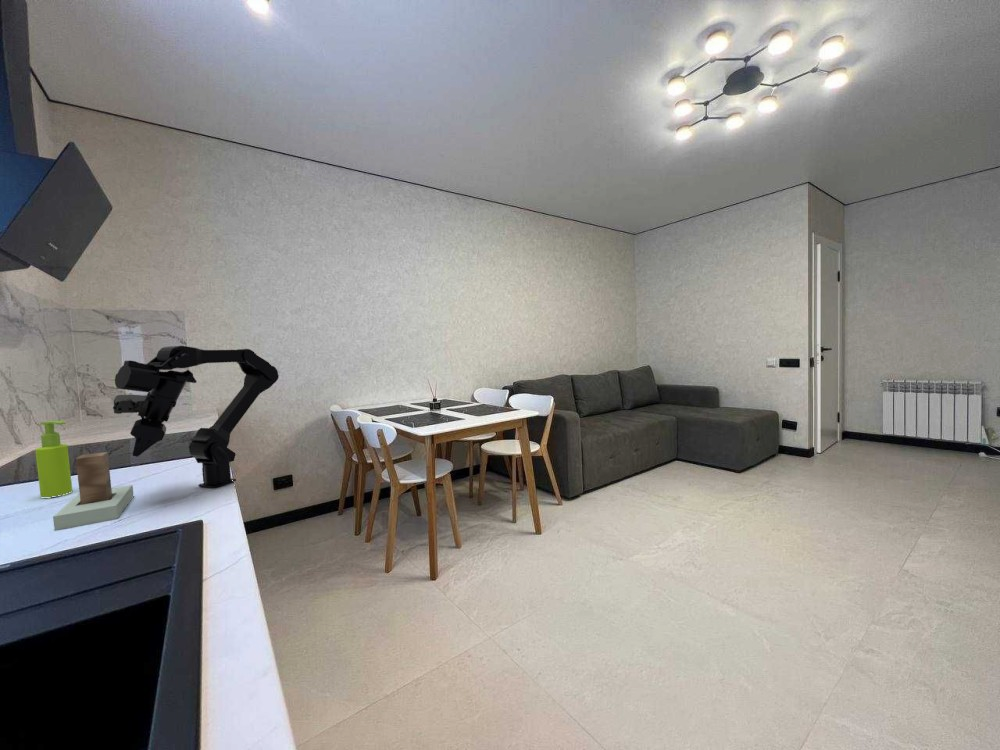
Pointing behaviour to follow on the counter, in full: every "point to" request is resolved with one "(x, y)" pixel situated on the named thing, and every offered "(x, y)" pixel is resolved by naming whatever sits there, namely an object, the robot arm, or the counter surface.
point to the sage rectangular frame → (93, 509)
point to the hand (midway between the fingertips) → (137, 447)
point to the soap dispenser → (53, 463)
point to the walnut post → (94, 478)
